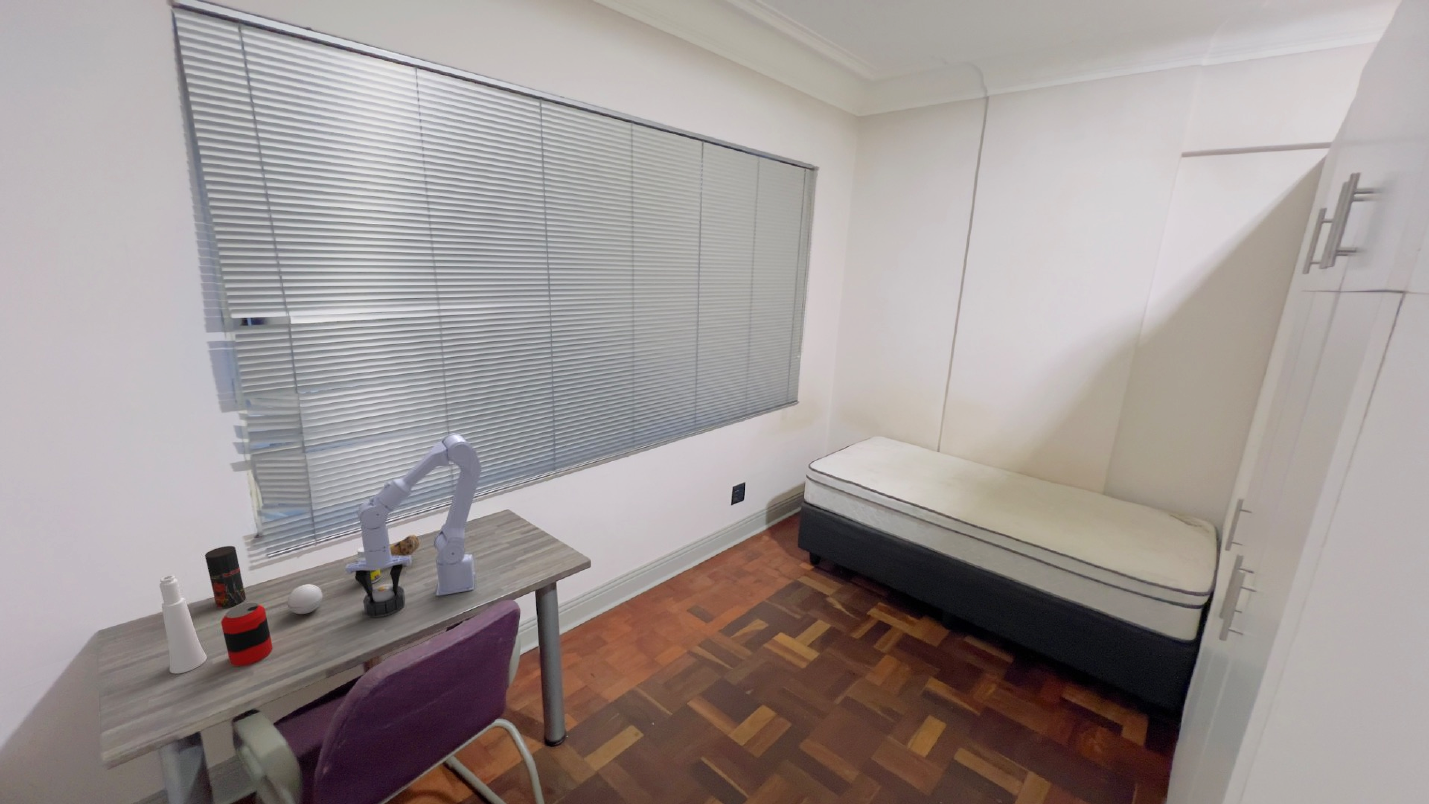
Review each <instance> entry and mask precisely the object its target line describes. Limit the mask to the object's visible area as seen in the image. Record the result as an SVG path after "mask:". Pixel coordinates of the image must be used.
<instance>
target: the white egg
mask: <svg viewBox="0 0 1429 804" xmlns="http://www.w3.org/2000/svg"><path fill="white" fill-rule="evenodd" d="M323 598H324V597H323V592H322V589H321V588H320V587H318V586H317V585H315V584H310V583H307V584H303V585H300V586H297V587H296V588H295V589H293V590H292V591H291V592H290V594H289V596H288V598H287V604H284V605H283V606H281V607H279V608H278V610H279V609H281V608H283V607H286V605H287V607H288V608H289V610H290V611H292V612H293V613H295V614H299V615H305V614H309V613H311V612H314V611H315V610H317V608H318V607H320V605H321V603H322V601H323Z"/></svg>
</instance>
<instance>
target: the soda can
mask: <svg viewBox="0 0 1429 804" xmlns="http://www.w3.org/2000/svg"><path fill="white" fill-rule="evenodd" d="M220 624H221V628H222V634H223V637H224V641H225V647H226V650H227V655H228V659H229V663H230V664H231V665H233V666H236V667H245V666H248V665H252V664H255V663H257V662H259V661H262V660H263V659H264V658H266V657H267V656H268V655H269V654H270V653H271V652H272V650H273V643H272V638H271V634H270V633H271V632H270V629H269V622H268V618H267V613H266V609H265V607H264V606H262V605H260V604H258V603H257V602H247V603H243V604H242V603H241V604H238V605H236V606H234V607H231V608H229V610H227V611H226V613H225V615H224V616H223V617H222V618H221V622H220Z"/></svg>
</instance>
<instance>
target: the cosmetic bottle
mask: <svg viewBox="0 0 1429 804" xmlns="http://www.w3.org/2000/svg"><path fill="white" fill-rule="evenodd" d="M159 582H160V583H159V588H160V593H161V596H162V600H163V603H162V604H161V610H162V616H163V623H164V626H165V627H164V628H165V632H166V633H165V634H166V639H167V646H168V652H169V653H168V654H169V672H170V673H171V674H176V675H177V674H184V673H186V672H190V671H193V670H194V669H197V668H198V667H200V666H201V665H203V664H204V663H206V661H207V659H208V656H207V654H206V653H205V651H204V649H203V647H202V645H201V643H200V640H199V638H198V635H197V632H196V629H195V626H194V624H193V620H192V617H191V613H190V610H189V607H188V605H187V602H186V599H185V597H182V594H181V593H182V592H181V589H180V586H179V581H178V579H177V578H176V576H175V575H174V574H169V575H166V576H162V577H161V578H160V581H159Z"/></svg>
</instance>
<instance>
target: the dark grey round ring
mask: <svg viewBox="0 0 1429 804" xmlns="http://www.w3.org/2000/svg"><path fill="white" fill-rule="evenodd" d="M394 594H395V597H393V598H392V599H390V600H387V601H384V602H378V603H377V602H374V600H373V596H371V597H368V595H367V594H366V595H365V596H364V598H363V601H362V603H363V609H364V613H365V615H366V616H367V617H369V618H372V619H378V618H379V619H380V618H385V617H388V616H391V615H394V614H395V613H397V612H398V611H400V610H402V609H403V608H404V606H405V605H406V604H405V603H406V597H405V590H404V588H402V586H399V585H398V591H397V592H396V593H394Z"/></svg>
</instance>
